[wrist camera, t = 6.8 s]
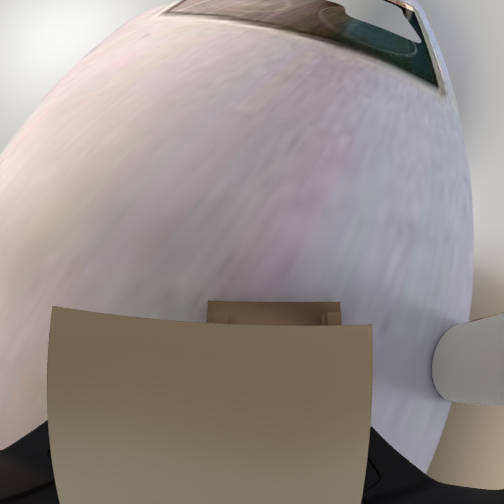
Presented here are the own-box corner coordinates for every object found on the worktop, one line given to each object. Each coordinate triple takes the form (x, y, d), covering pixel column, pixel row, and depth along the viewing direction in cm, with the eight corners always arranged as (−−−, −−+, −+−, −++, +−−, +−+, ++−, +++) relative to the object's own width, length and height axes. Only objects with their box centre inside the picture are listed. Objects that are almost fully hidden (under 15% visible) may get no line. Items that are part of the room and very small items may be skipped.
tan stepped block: (332, 481, 18) (348, 499, 14) (208, 487, 17) (204, 509, 13) (334, 304, 23) (353, 294, 19) (209, 303, 22) (204, 293, 19)
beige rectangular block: (269, 424, 13) (349, 556, 2) (178, 420, 12) (67, 532, 2) (271, 348, 14) (371, 324, 4) (180, 344, 14) (52, 305, 3)
